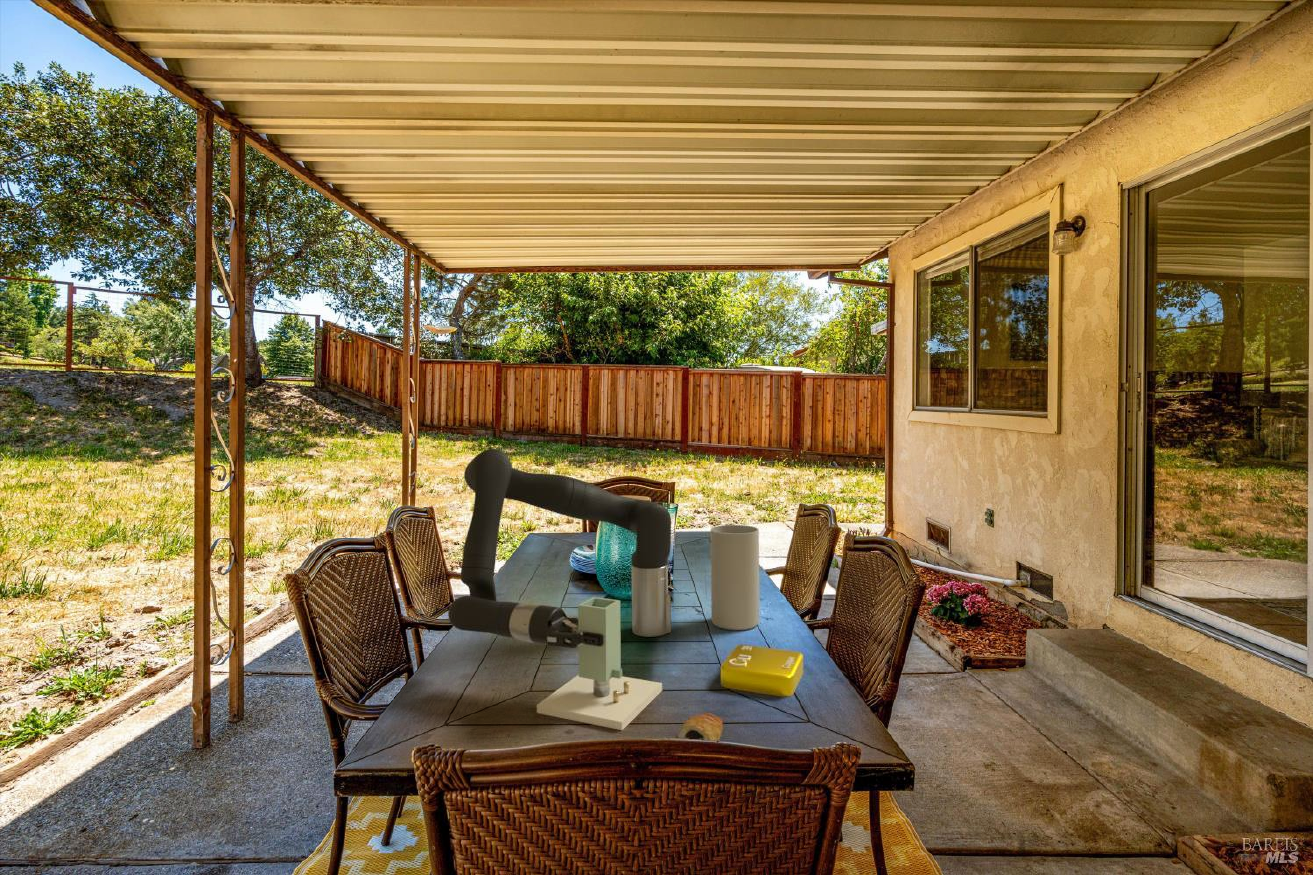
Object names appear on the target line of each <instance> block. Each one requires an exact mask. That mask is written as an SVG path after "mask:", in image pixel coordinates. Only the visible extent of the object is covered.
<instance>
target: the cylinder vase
mask: <svg viewBox="0 0 1313 875" xmlns="http://www.w3.org/2000/svg"><path fill="white" fill-rule="evenodd" d="M759 539H760V530H759V527H755V526H750V525H746V524H745V525H743V524H727V525H726V524H725V525H717V526H713V527H711V528H710V581H711V582H710V589H711V590H710V591H711V594H710V596H711V598H710V599H711V606H710V608H711V610H710V611H711V623H712V624H713V625H714V626H715V627H717V628H720V629H723V630H729V631H746V630H750V629H753V628H755V627H757V626H758V625H759V623H760V540H759Z"/></svg>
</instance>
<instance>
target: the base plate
mask: <svg viewBox="0 0 1313 875" xmlns="http://www.w3.org/2000/svg"><path fill="white" fill-rule="evenodd" d="M662 691H663V683H662V682H657V681H652V680H645V679H640V678H635V677H627V676H623V675H622V677H621V678H620V679H618V678H613V677H612V678H611V679H609V680H608V681H607V682H603V681H598V680H593V679H587V678H582V677H579V673H578V674H577V675H576V676H575V677H572V679H570V680H569V681H568V682H566V683H565V684H564V685H561V687H559V688H558V689H557V690H555V691H554V692H552V693H551V694H550V695H548V696H547V697H546V698H545V699H543V700H542V701H540V702H539V703H538V704H536V714H541V715H546V716H550V717H556V718H561V719H565V720H570V721H573V722H580V723H585V724H588V725H589V724H590V725H595V726H599V727H605V728H609V729H613V730H619V731H623V730H624V729H625V728H626V727H627V726H628V725H629V724H630V723H631V722H632V721H633V720H634V719H635V718H636V717H637V716H638V715H639V714H641V713H642V712H643V710H645V708H646V707H647V706H648V705H649V704H650V703H651V702H652V701H653V700H654V699H655V698H656V697H657V696H658V695H659V694H661V692H662Z"/></svg>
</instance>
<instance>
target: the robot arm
mask: <svg viewBox="0 0 1313 875" xmlns="http://www.w3.org/2000/svg"><path fill="white" fill-rule="evenodd" d="M464 481H465V483H466V484H467V487H469V488H470V489H471V491H473V492H474V504H473V510H472V514H471V520H470V523H469V527H468V530H467V533H466V537H465V542H464V546H463V551H462V552H463V553H462V559H461V570H460V581H461V582H462V583H463V584H464V585H465V586H466V587H468V590H469V595H463V596H460V597H457V598H456V599H454V600H453V601H452V603H451V604H450V605H449V609H448V614H447V616H448V620H449V622H450V624H451V625H452V626H453V627H454V628H456V629H458V630H460V631H467V632H476V633H488V634H492V635H493V634H494V635H497V636H500V637H505V638H511V639H516V640H520V641H523V642H527V643H533V644H538V645H544V646H550V647H560V648H571V649H575V648H577V647H578V645H584V644H587V645H594V646H602V645H603V635H602V634H598V633H591V632H585V633H584V631H582V630H578V615H570V616H567V614H566V613H565V611H564V610H563V608H561V607H558V606H552V605H551V606H550V605H546V604H545V605H544V604H538V603H537V604H536V603H523V602H522V603H521V602H512V601H498V600H497V594H496V593H497V592H496V591H497V590H496V585H495V579H494V577H495V568H496V560H497V547H498V539H499V532H500V531H499V530H500V524H501V518H502V513H503V512H502V511H503V508H504V502H505V499H507V500H512V501H516V502H517V501H518V502H520V503H524V504H527V505H530V506H533V507H535V508H536V507H537V508H538V509H542V510H544V511H545V510H546V511H549V512H552V513H556V514H559V515H563V516H567V517H569V518H572V519H578V520H584V521H591V522H604V523H607V524H608V523H609V524H611V525H614V526H617V527H620V528H622V529H625V530H627V531H630V532H631V533H633V534H635V535H636V544H635V545H636V546H635V547H636V548H635V551H634V552H632V554H631V558H630V561H631V562H630V564H631V566H630V567H631V617H632V618H631V625H632V627H631V628H632V630H631V631H632V633H633V634H634V635H636V636H638V637H644V638H646V637H649V638H650V637H651V638H652V637H659V636H660V637H661V636H663V635H666V634H670V633H671V632H672V623H671V622H672V621H671V619H672V618H671V617H672V616H671V612H672V611H671V595H670V594H669V587H668V585H669V578H668V577H669V576H668V573H669V572H668V570H669V569H668V568H669V566H668V561H669V560H668V559H669V556H670V553H671V544H672V543H671V542H672V541H671V540H672V532H671V531H672V520H671V516H670V512H669V511H668V509H667V508H666V507H665V506H663V505H662V504H661V503H657V502H653V501H651V500H646V499H639V498H633V497H626V496H621V495H618V494H614V493H612V492H609V491H608V490H606V489H603V487H600V486H597V485H595V484H592V483H589V482H588V481H584V480H581V479H577V478H574V477H572V476H568V475H567V476H566V475H561V474H553V473H552V474H551V473H533V472H532V473H531V472H526V471H523V470H520V469H518V468H517V469H516V468H514V467H512V463H511V460H510V458H509V457H508V456H507V454H506V453H504V452H503V451H502V450H499V449H496V448H492V449H491V448H490V449H486V450H483V451H481V452H479V453H478V454H477V455H476V456H474V458H472V459H471V461H470V462H469V463H468V464H467V466H466V467H465V469H464Z"/></svg>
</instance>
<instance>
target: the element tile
mask: <svg viewBox="0 0 1313 875" xmlns="http://www.w3.org/2000/svg"><path fill="white" fill-rule="evenodd" d="M803 674H804V656H803V654H802V653H801V652H800V651H796V650H795V651H794V650H793V651H792V650H787V649H780V648H771V647H763V646H754V645H747V644H738V645H737V646H736V647H735V646H734V648H733V650H731V652H730V653H729V655H728V656H727V657H726V658H725V660H724V661H722V663H721V665H720V685H721V686H722V687H724V688H726V689H731V690H739V691H744V692H751V693H757V694H765V695H771V696H777V697H791V696H793V695H794V694H795V691H796V689H797V686H798V685H799V683H800V680H801V679H802V676H803Z"/></svg>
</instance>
